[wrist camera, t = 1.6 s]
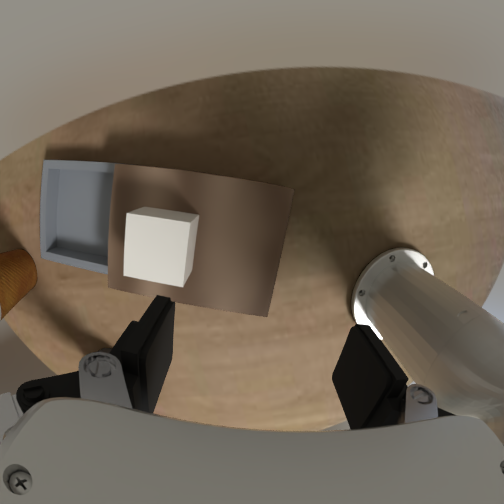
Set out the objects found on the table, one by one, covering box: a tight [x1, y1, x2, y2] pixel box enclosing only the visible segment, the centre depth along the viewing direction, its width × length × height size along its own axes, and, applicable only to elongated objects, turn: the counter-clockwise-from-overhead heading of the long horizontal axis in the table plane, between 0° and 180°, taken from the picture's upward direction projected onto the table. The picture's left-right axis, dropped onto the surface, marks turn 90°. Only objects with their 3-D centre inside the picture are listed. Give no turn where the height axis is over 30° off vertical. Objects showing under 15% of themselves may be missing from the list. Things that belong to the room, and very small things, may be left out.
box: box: [40, 160, 134, 274], centre depth 27 cm, size 12×12×3 cm
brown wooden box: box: [108, 164, 295, 317], centre depth 27 cm, size 16×12×6 cm
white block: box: [124, 207, 199, 287], centre depth 22 cm, size 5×5×4 cm
